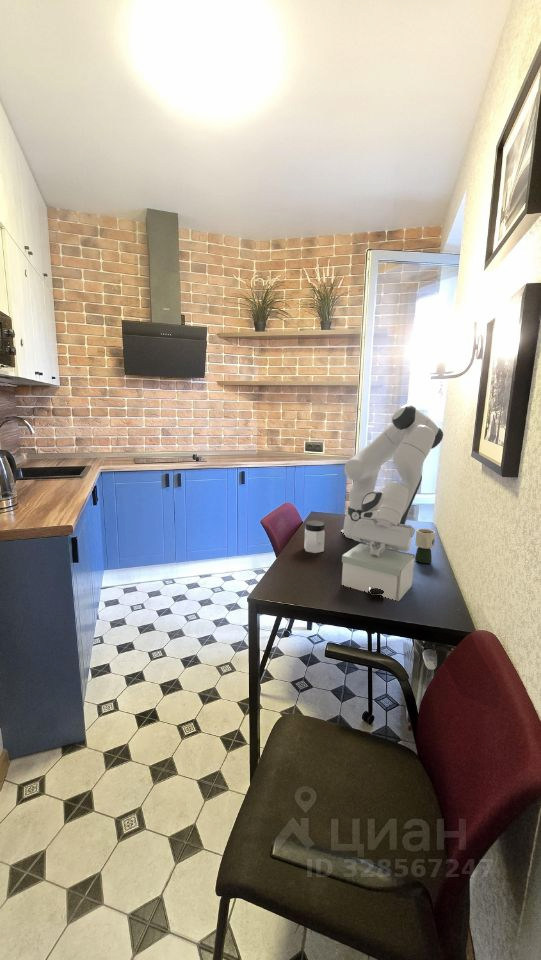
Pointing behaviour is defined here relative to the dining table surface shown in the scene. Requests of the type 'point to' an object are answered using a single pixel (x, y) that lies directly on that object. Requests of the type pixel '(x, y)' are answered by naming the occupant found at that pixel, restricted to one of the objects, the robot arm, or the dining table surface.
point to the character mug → (424, 545)
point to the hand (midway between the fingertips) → (374, 555)
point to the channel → (379, 579)
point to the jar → (314, 536)
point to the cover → (377, 559)
